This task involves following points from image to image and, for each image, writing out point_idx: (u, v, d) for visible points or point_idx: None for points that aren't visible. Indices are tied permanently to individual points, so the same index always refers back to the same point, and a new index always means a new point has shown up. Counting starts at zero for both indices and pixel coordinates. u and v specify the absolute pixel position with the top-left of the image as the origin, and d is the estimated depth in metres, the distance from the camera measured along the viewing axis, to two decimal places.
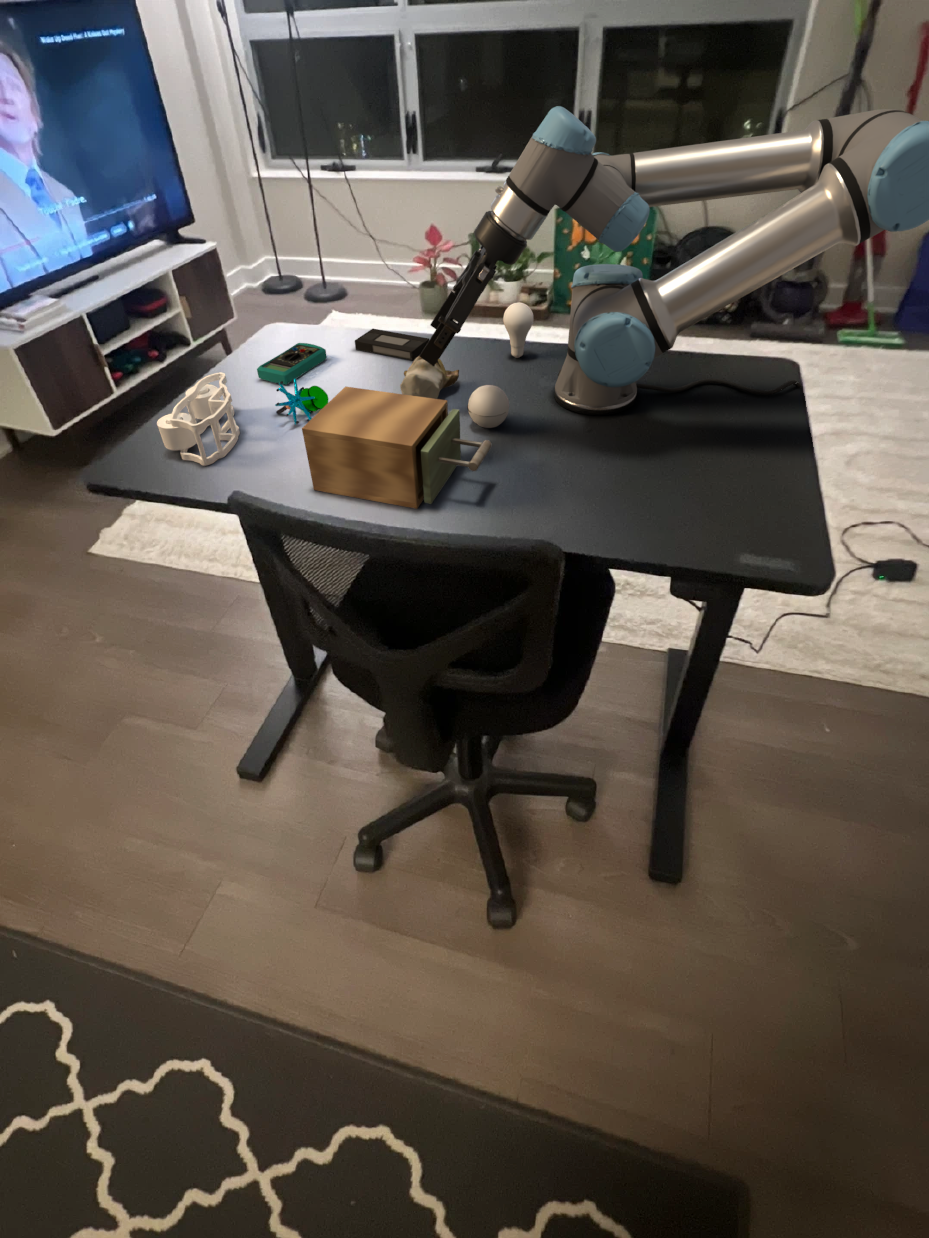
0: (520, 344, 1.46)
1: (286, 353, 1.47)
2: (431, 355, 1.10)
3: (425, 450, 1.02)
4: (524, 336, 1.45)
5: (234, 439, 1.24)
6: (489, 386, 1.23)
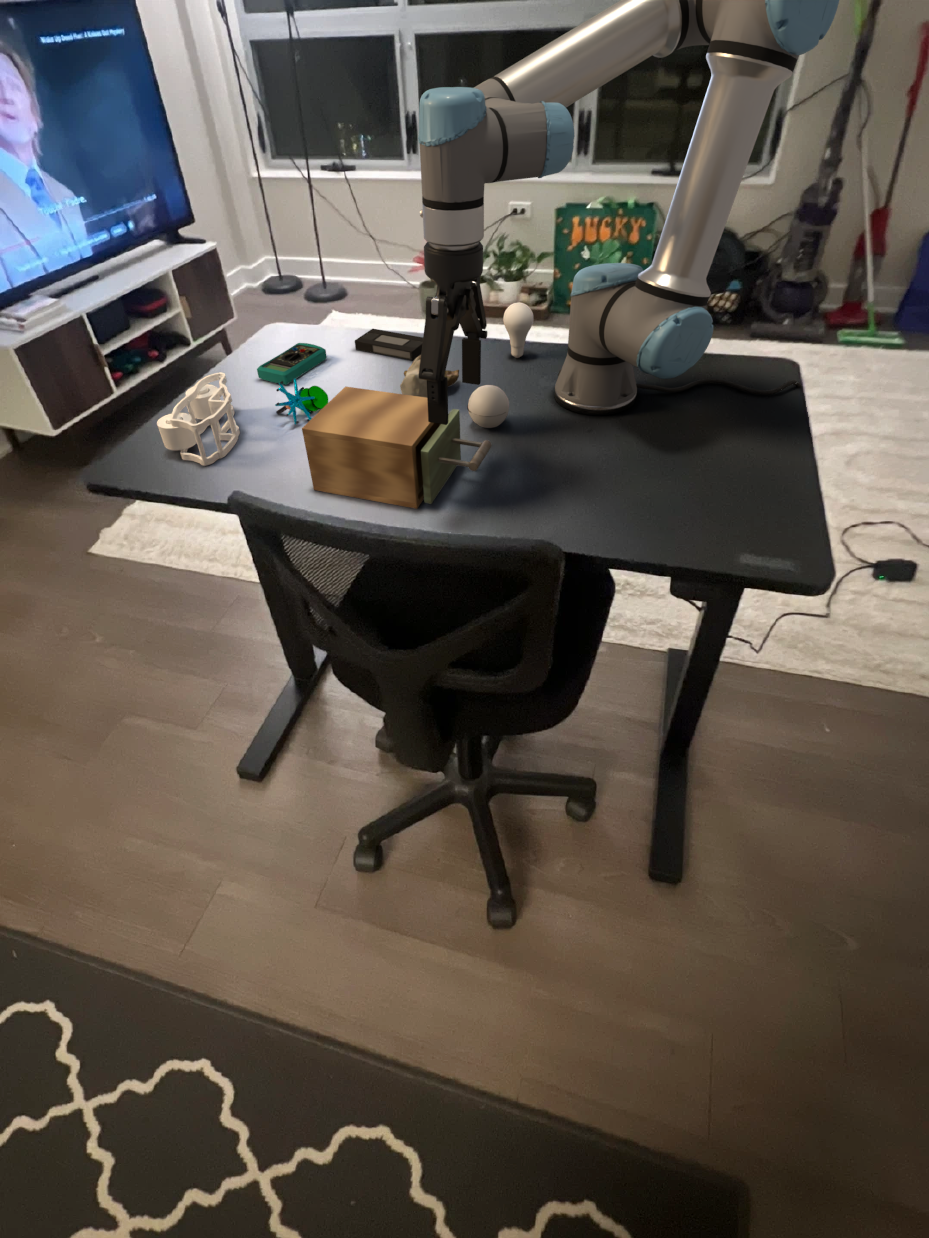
0: (520, 344, 1.46)
1: (286, 353, 1.47)
2: (437, 415, 0.98)
3: (425, 450, 1.02)
4: (524, 336, 1.45)
5: (234, 439, 1.24)
6: (489, 386, 1.23)
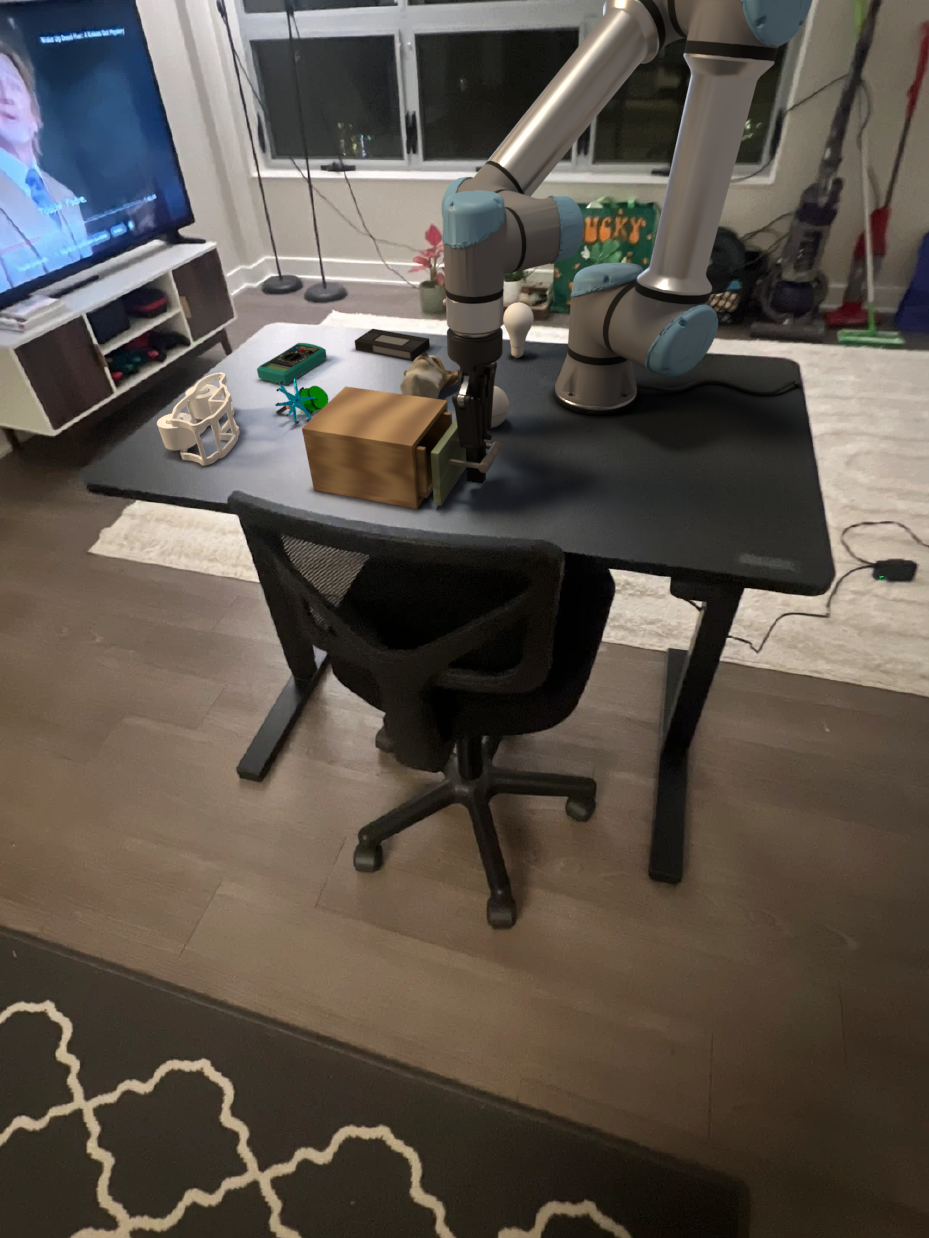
0: (520, 344, 1.46)
1: (286, 353, 1.47)
2: (475, 475, 1.09)
3: (435, 452, 1.02)
4: (524, 336, 1.45)
5: (234, 439, 1.24)
6: None
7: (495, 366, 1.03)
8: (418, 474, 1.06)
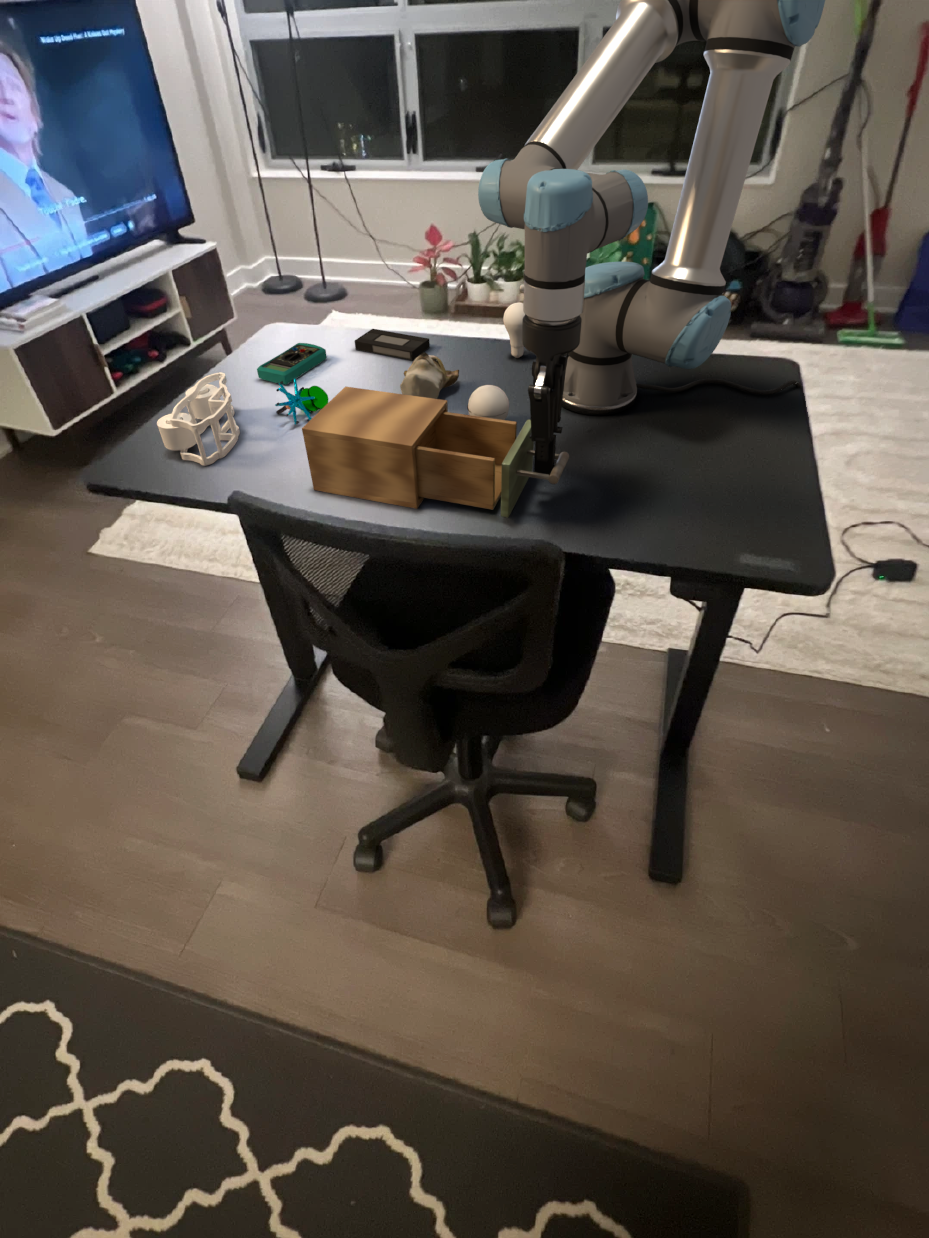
0: (520, 344, 1.46)
1: (286, 353, 1.47)
2: (543, 470, 1.05)
3: (506, 463, 0.99)
4: None
5: (234, 439, 1.24)
6: (489, 386, 1.23)
7: (567, 355, 0.99)
8: (485, 485, 1.03)
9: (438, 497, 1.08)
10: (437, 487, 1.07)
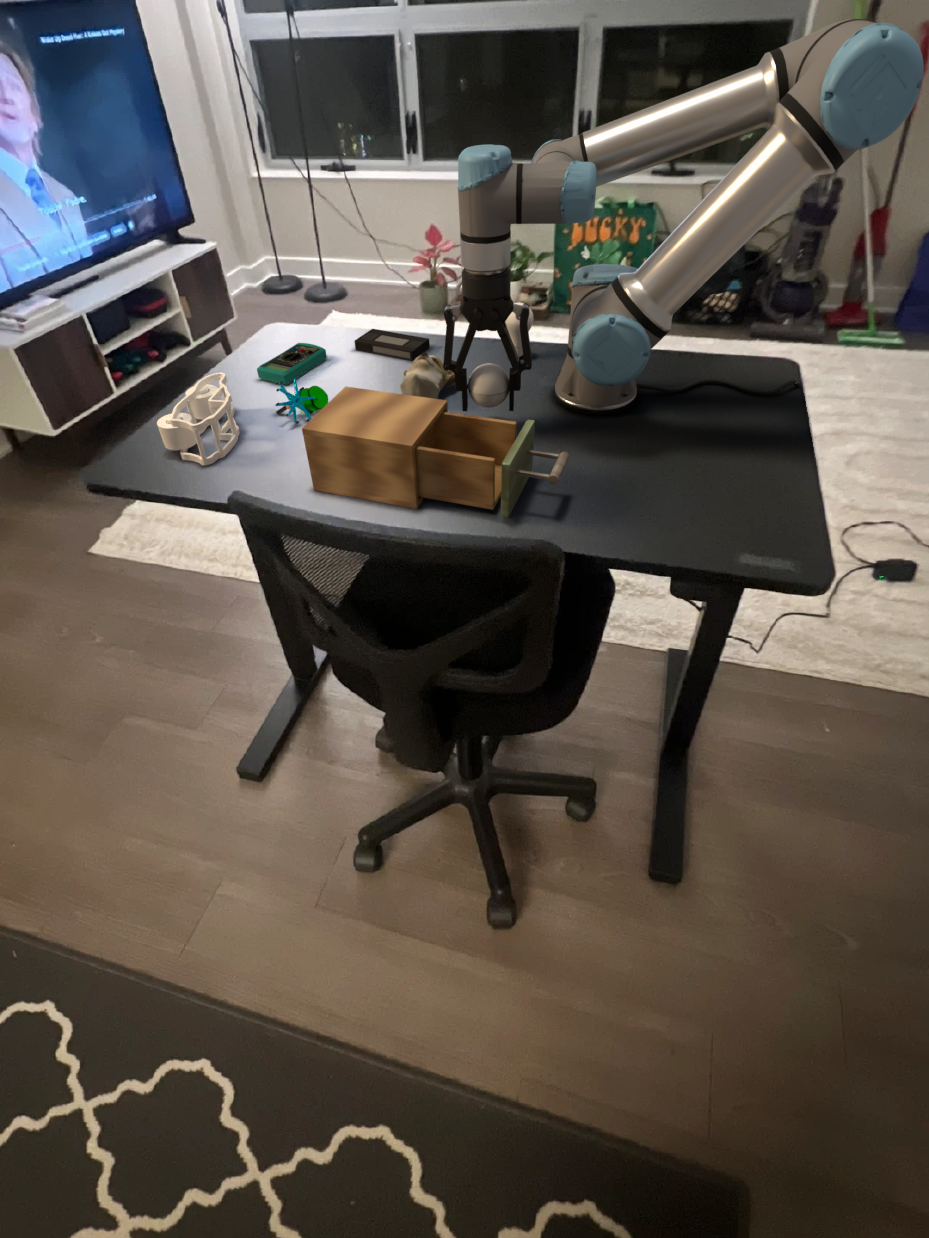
0: (520, 344, 1.46)
1: (286, 353, 1.47)
2: None
3: (506, 463, 0.99)
4: None
5: (234, 439, 1.24)
6: (489, 364, 1.20)
7: (523, 313, 1.11)
8: (485, 485, 1.03)
9: (438, 497, 1.08)
10: (437, 487, 1.07)
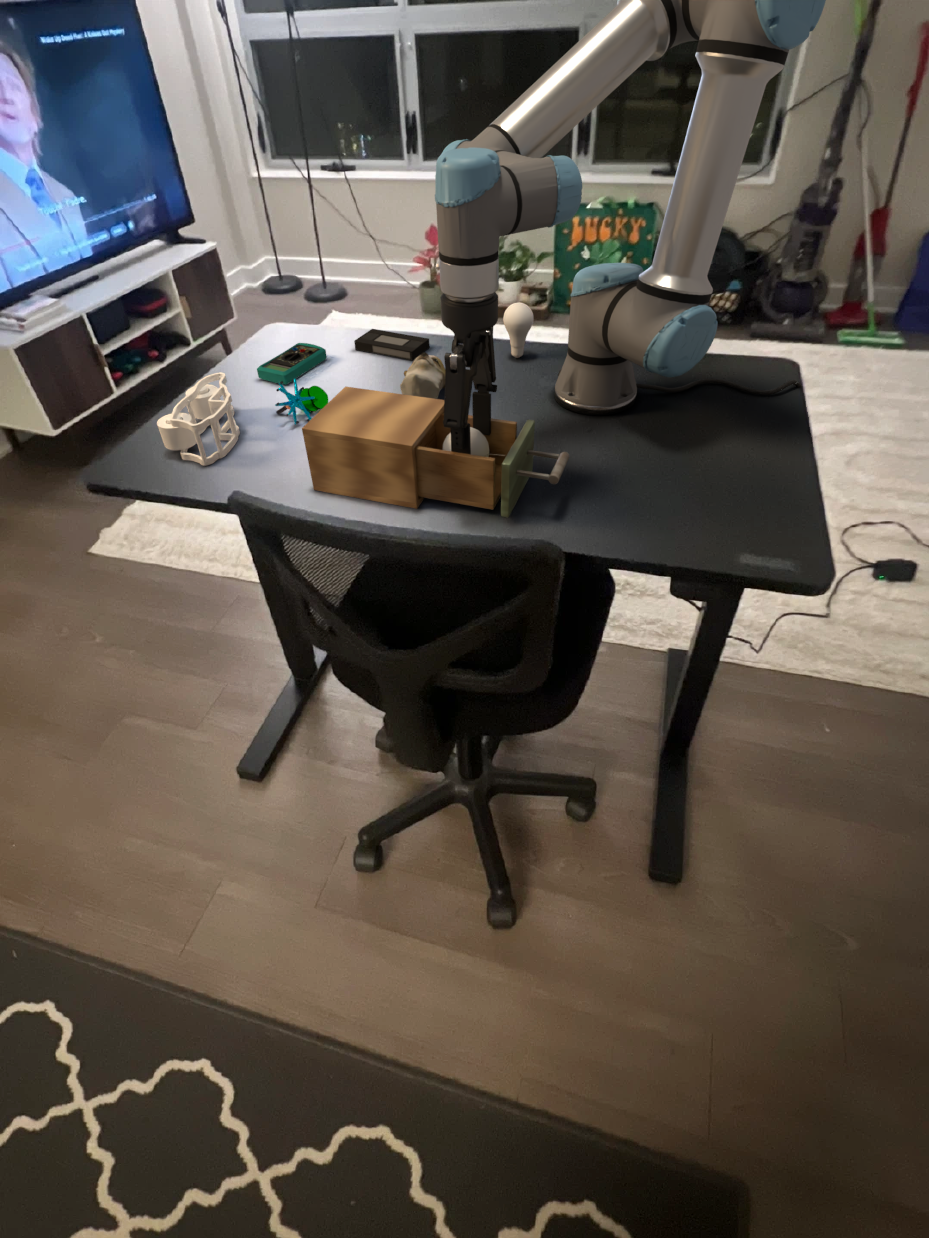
0: (520, 344, 1.46)
1: (286, 353, 1.47)
2: None
3: (506, 463, 0.99)
4: (524, 336, 1.45)
5: (234, 439, 1.24)
6: None
7: None
8: (486, 485, 1.03)
9: (438, 497, 1.08)
10: (437, 487, 1.07)
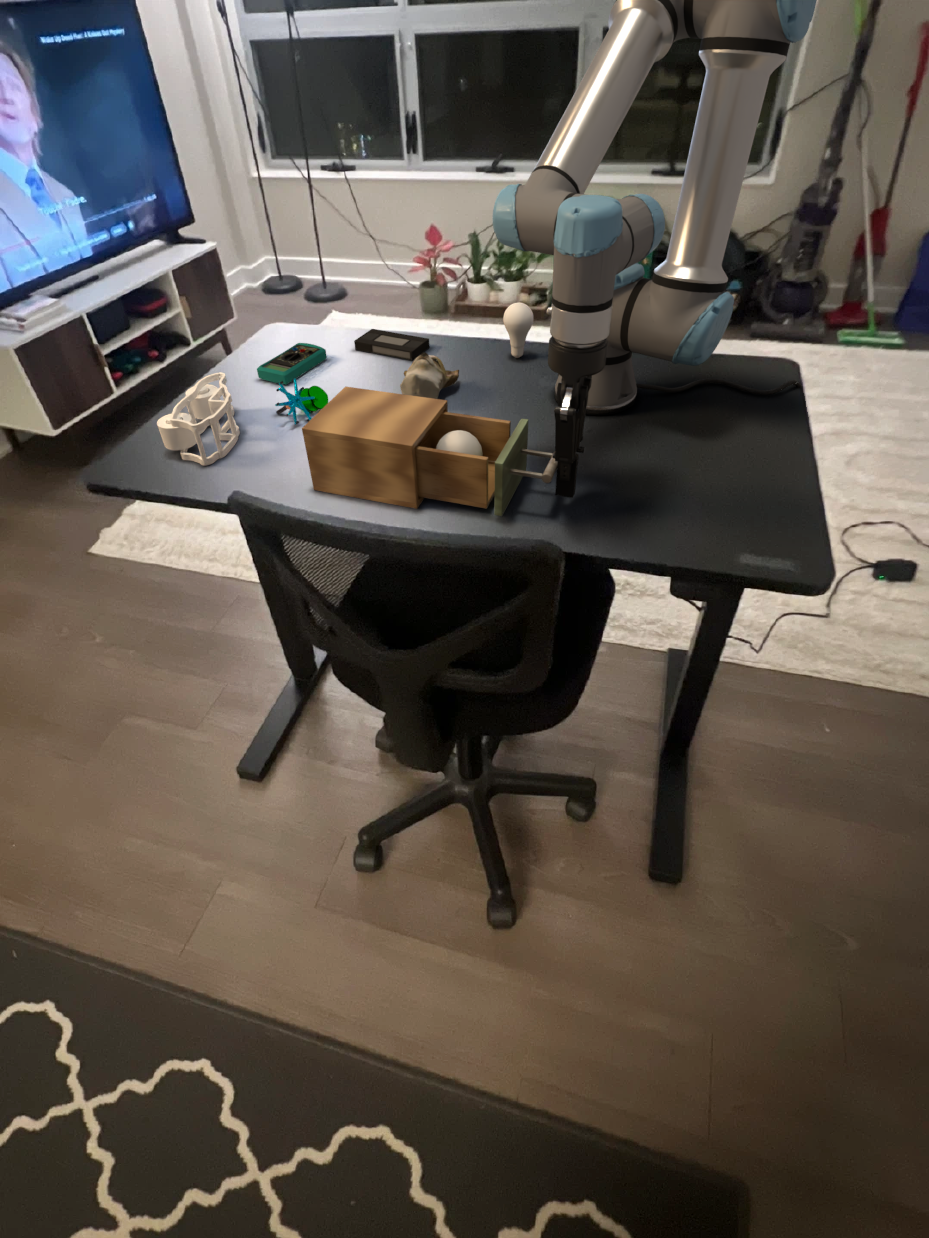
0: (520, 344, 1.46)
1: (286, 353, 1.47)
2: (565, 489, 1.06)
3: (499, 462, 0.99)
4: (524, 336, 1.45)
5: (234, 439, 1.24)
6: (456, 432, 1.07)
7: (590, 376, 0.99)
8: (479, 484, 1.04)
9: (432, 496, 1.08)
10: (431, 486, 1.07)
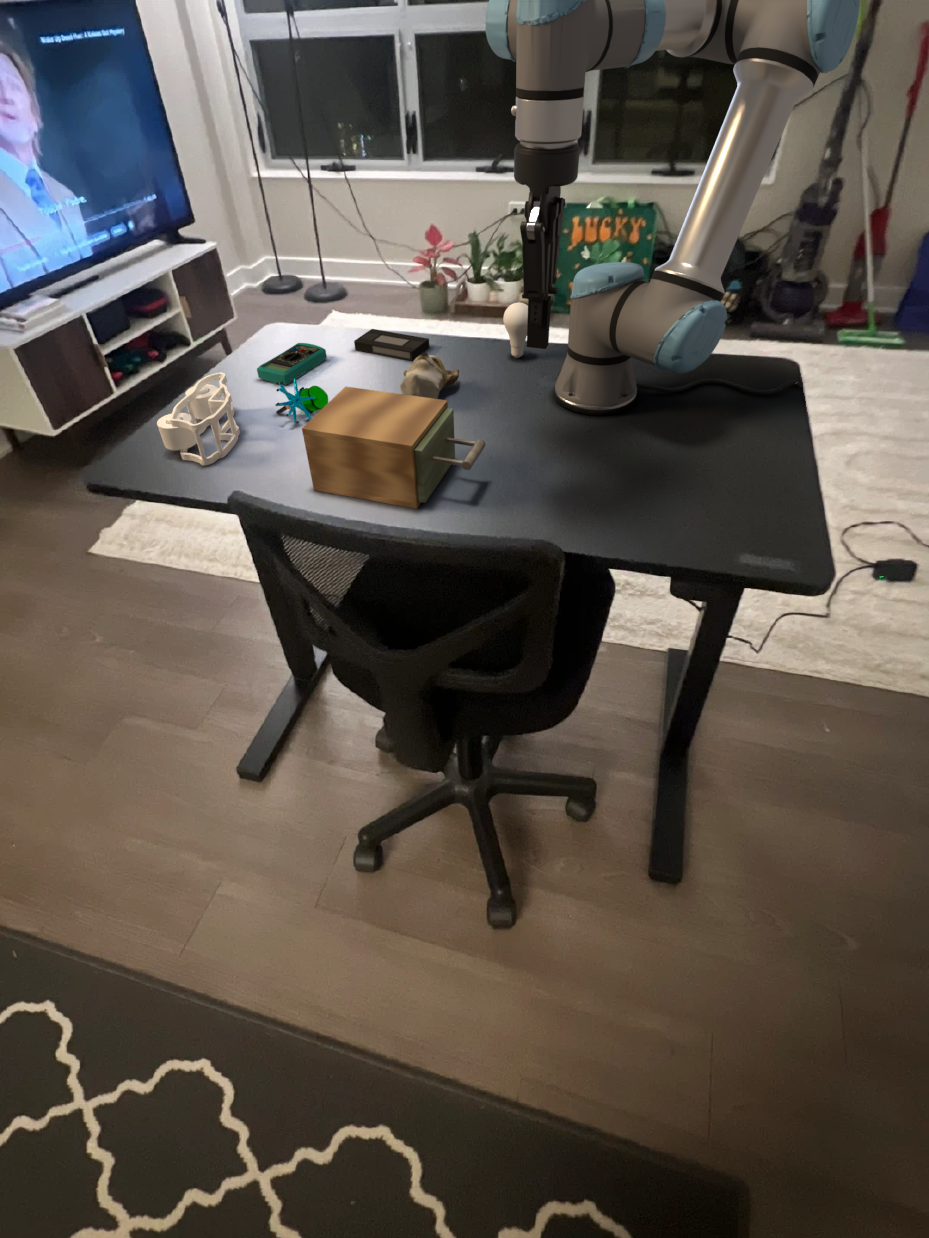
0: (520, 344, 1.46)
1: (286, 353, 1.47)
2: (537, 339, 0.96)
3: (419, 449, 1.03)
4: (524, 336, 1.45)
5: (234, 439, 1.24)
6: None
7: (564, 204, 0.90)
8: None
9: None
10: None
